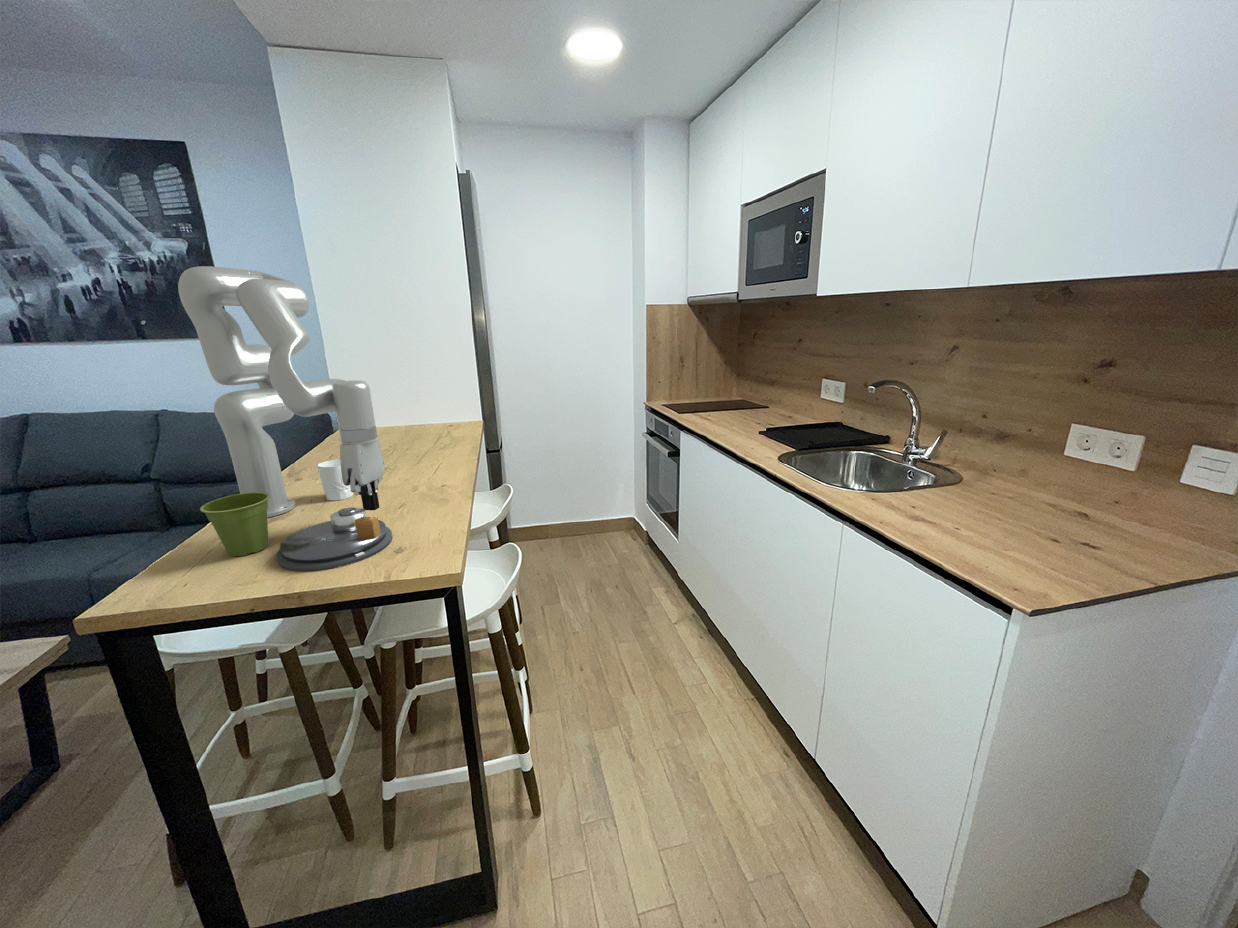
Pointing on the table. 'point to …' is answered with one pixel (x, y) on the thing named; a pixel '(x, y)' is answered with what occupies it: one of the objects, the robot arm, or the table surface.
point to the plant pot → (240, 521)
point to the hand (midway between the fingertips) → (371, 508)
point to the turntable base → (338, 562)
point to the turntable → (332, 541)
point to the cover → (346, 519)
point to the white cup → (333, 480)
